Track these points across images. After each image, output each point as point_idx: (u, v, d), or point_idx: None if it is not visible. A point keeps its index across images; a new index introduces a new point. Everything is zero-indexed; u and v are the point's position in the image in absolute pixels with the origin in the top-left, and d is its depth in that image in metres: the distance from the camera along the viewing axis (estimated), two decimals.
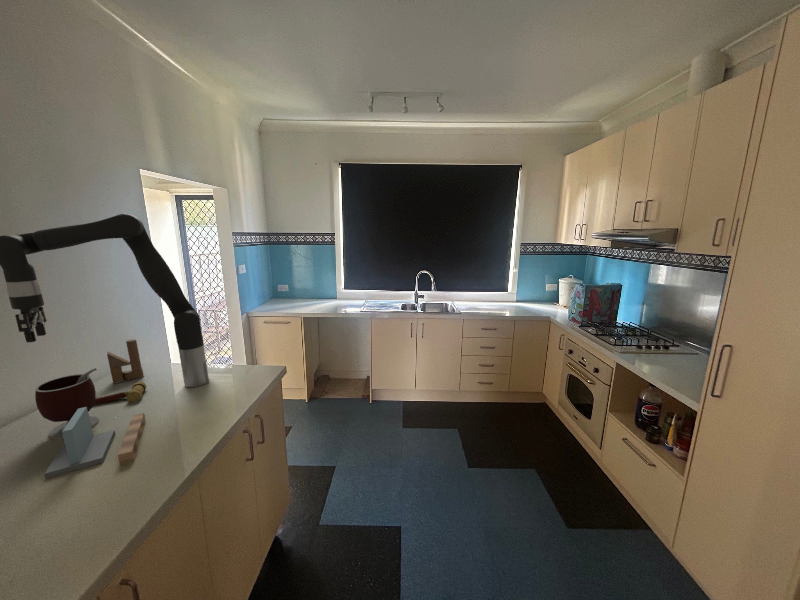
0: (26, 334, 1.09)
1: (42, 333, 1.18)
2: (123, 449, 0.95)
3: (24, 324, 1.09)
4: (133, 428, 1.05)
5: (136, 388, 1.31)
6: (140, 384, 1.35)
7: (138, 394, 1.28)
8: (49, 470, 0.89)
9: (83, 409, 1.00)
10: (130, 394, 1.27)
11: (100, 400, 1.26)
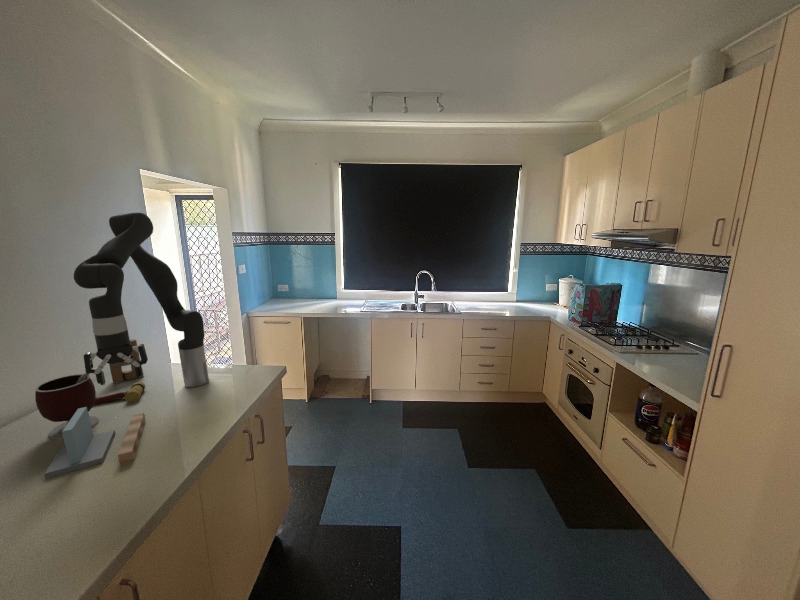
0: None
1: (104, 380, 0.98)
2: (123, 449, 0.95)
3: (133, 359, 1.00)
4: (133, 428, 1.05)
5: (135, 388, 1.31)
6: (139, 384, 1.35)
7: (137, 394, 1.28)
8: (49, 470, 0.89)
9: (83, 409, 1.00)
10: (128, 394, 1.27)
11: (99, 400, 1.26)
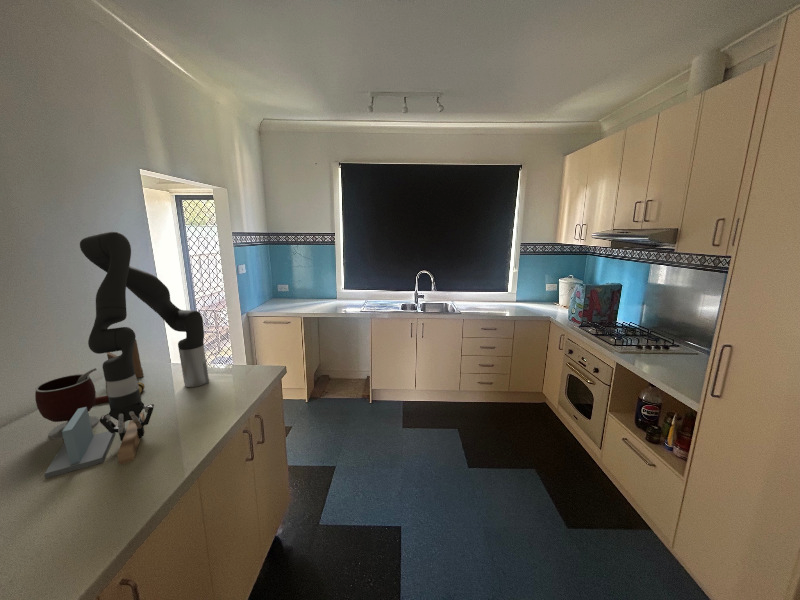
0: None
1: None
2: (123, 448, 0.95)
3: (139, 420, 1.03)
4: (133, 427, 1.05)
5: None
6: (138, 384, 1.34)
7: None
8: (49, 470, 0.89)
9: (83, 409, 1.00)
10: None
11: (98, 400, 1.26)
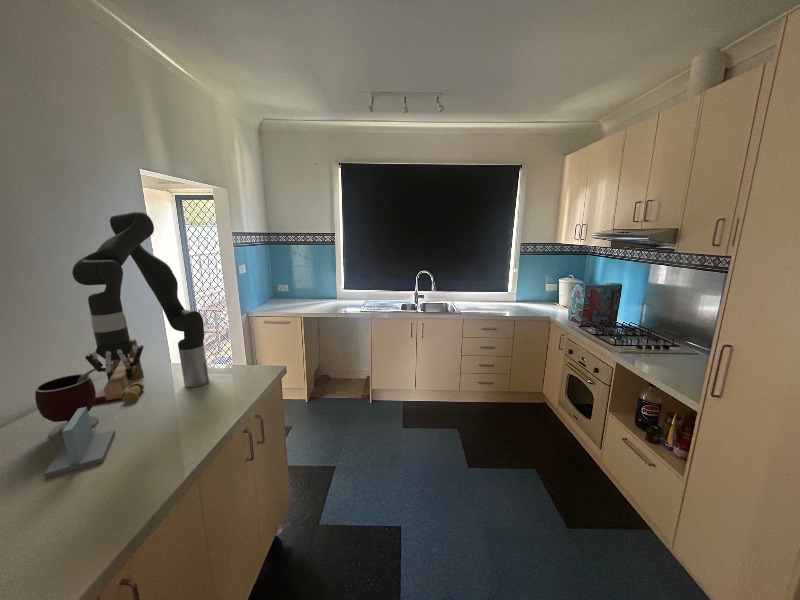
0: None
1: None
2: (110, 384, 0.90)
3: (127, 360, 0.99)
4: (121, 369, 1.01)
5: (133, 388, 1.31)
6: (137, 384, 1.34)
7: (134, 395, 1.28)
8: (49, 470, 0.89)
9: (83, 409, 1.00)
10: (126, 394, 1.27)
11: (97, 400, 1.26)
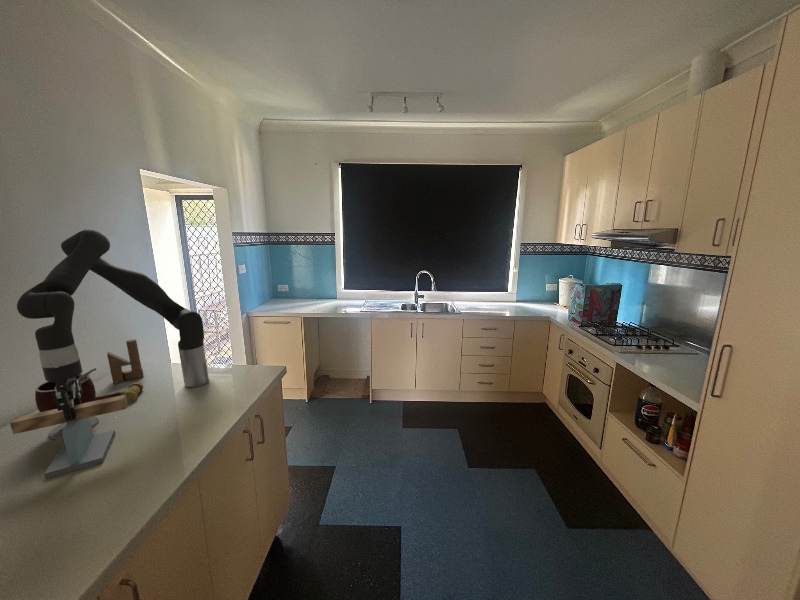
0: None
1: None
2: (115, 399, 0.99)
3: None
4: None
5: (132, 388, 1.31)
6: (137, 384, 1.34)
7: (133, 395, 1.28)
8: (49, 470, 0.89)
9: None
10: None
11: (96, 400, 1.26)
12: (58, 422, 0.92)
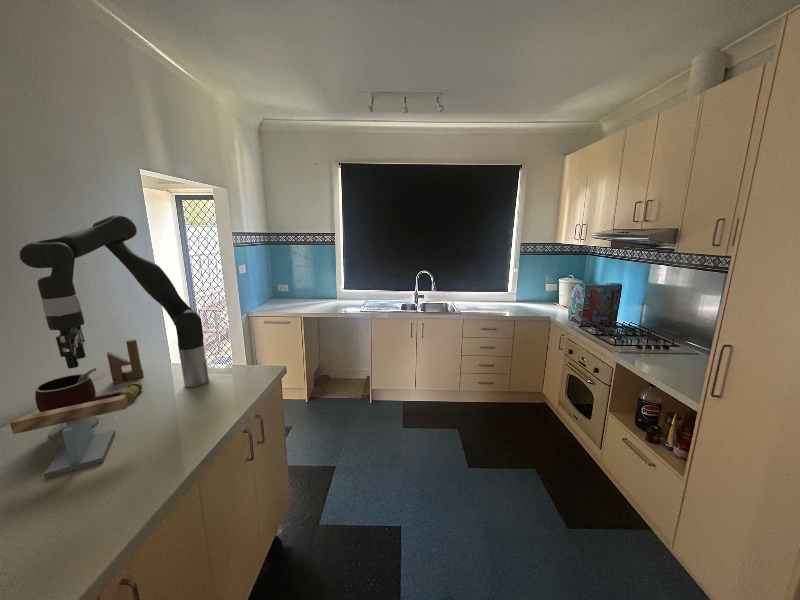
0: None
1: None
2: (115, 399, 0.99)
3: None
4: (62, 409, 0.94)
5: (131, 388, 1.31)
6: (136, 384, 1.34)
7: (132, 395, 1.28)
8: (49, 470, 0.89)
9: None
10: None
11: (95, 399, 1.27)
12: (58, 422, 0.92)
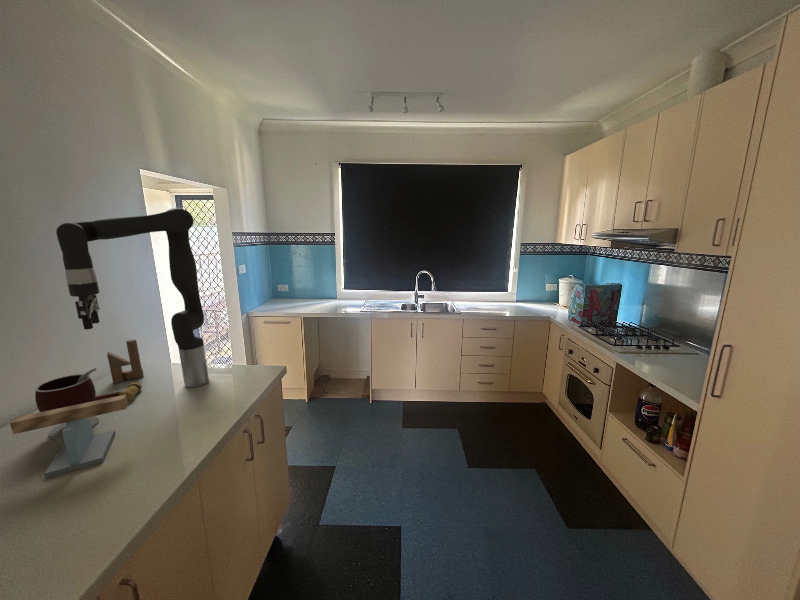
0: None
1: None
2: (115, 399, 0.99)
3: None
4: (62, 409, 0.94)
5: (130, 389, 1.31)
6: (135, 384, 1.34)
7: (130, 395, 1.28)
8: (49, 470, 0.89)
9: None
10: None
11: None
12: (58, 422, 0.92)
